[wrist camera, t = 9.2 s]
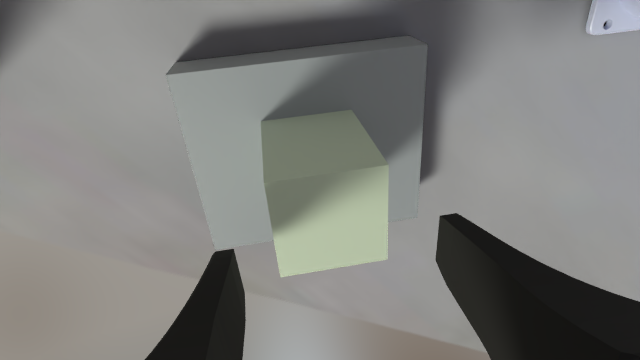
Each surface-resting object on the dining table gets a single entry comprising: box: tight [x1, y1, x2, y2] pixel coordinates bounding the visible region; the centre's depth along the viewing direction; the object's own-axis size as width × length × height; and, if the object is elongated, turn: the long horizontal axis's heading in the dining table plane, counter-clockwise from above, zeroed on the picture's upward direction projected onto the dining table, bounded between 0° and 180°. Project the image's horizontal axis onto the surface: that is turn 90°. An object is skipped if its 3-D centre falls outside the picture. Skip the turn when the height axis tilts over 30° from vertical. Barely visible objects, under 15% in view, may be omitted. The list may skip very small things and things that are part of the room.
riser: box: [166, 36, 428, 250], centre depth 21 cm, size 12×10×2 cm
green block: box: [261, 110, 389, 277], centre depth 17 cm, size 4×4×6 cm
